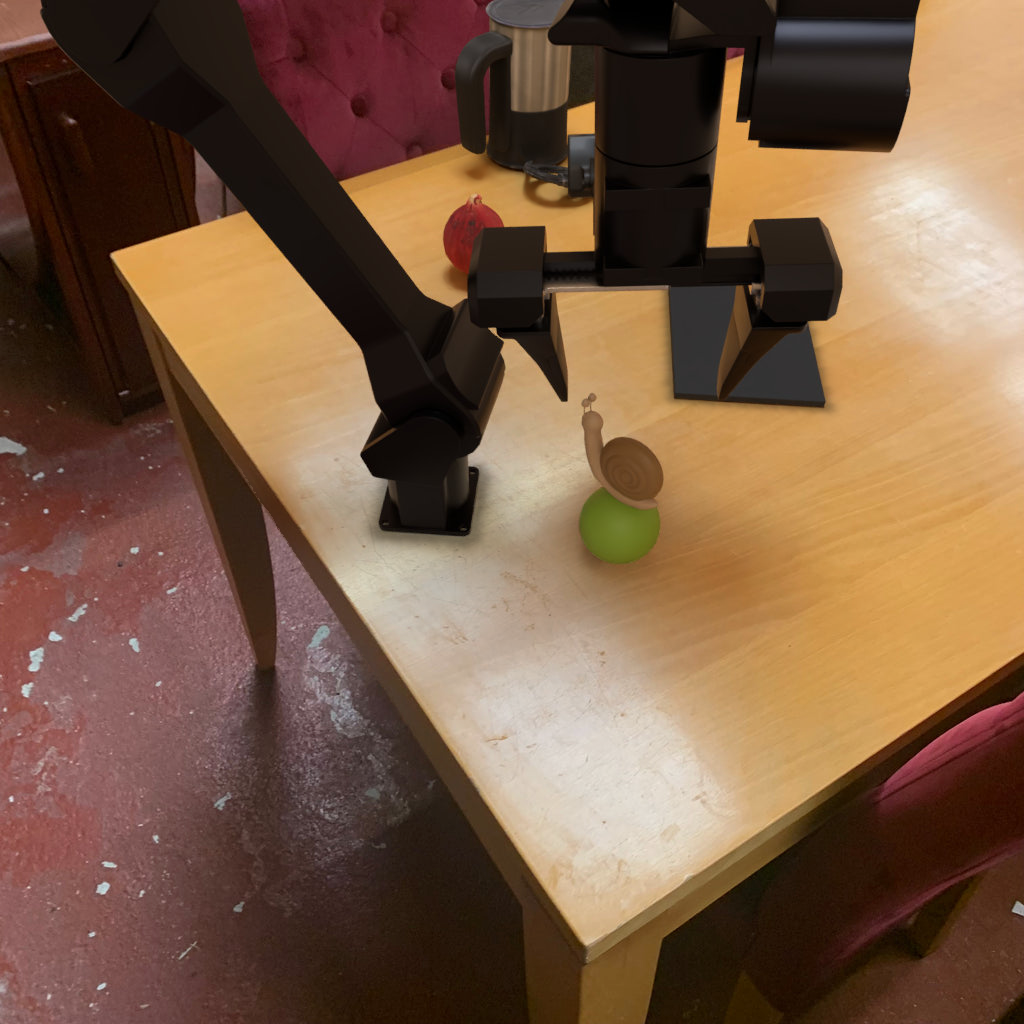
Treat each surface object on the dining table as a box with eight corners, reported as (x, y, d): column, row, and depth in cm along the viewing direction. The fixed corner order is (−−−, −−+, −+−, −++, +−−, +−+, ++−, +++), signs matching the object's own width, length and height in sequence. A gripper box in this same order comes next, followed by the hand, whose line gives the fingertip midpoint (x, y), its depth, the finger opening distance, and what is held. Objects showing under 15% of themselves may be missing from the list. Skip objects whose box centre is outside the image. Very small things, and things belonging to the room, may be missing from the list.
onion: (499, 296, 82) (498, 216, 76) (438, 288, 82) (433, 209, 76) (512, 261, 85) (512, 182, 79) (453, 254, 86) (449, 176, 80)
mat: (824, 407, 72) (826, 401, 71) (673, 398, 72) (675, 392, 72) (793, 267, 85) (794, 262, 84) (666, 261, 85) (667, 255, 85)
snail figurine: (595, 501, 65) (611, 372, 56) (669, 545, 62) (699, 418, 53) (549, 545, 62) (558, 418, 53) (625, 593, 59) (648, 468, 50)
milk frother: (514, 125, 104) (515, -15, 93) (636, 159, 99) (652, 15, 88) (446, 177, 96) (438, 30, 85) (575, 217, 91) (585, 66, 80)
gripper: (829, 60, 46) (782, 313, 58) (472, 76, 48) (495, 319, 59) (876, 162, 39) (811, 429, 50) (451, 177, 40) (482, 433, 52)
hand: (642, 396), depth 53 cm, fingers open, 9 cm apart
